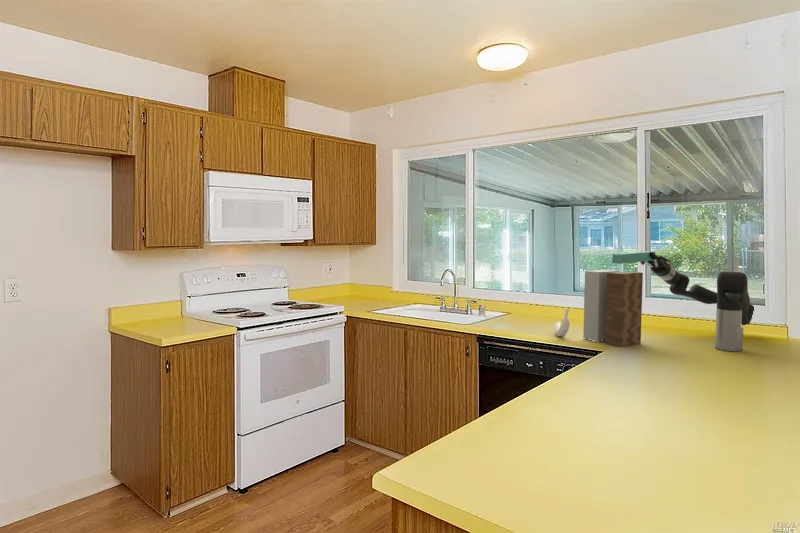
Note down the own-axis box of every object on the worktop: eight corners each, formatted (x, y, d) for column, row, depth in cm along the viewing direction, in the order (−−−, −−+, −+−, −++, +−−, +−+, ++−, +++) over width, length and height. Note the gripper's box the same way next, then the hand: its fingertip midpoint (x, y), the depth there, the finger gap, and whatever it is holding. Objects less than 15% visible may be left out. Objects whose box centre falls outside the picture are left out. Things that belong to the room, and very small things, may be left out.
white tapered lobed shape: (560, 332, 262) (560, 303, 261) (571, 340, 243) (572, 309, 242) (550, 332, 262) (551, 303, 261) (561, 340, 243) (562, 309, 242)
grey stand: (603, 335, 253) (604, 269, 251) (617, 338, 246) (619, 270, 244) (583, 339, 246) (584, 271, 244) (597, 342, 239) (599, 272, 237)
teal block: (646, 259, 244) (647, 251, 244) (655, 260, 241) (655, 251, 241) (612, 263, 230) (612, 254, 230) (620, 263, 227) (620, 254, 227)
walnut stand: (624, 340, 243) (626, 271, 241) (640, 343, 236) (642, 272, 234) (605, 343, 236) (606, 272, 234) (620, 347, 229) (622, 274, 227)
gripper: (675, 278, 242) (657, 261, 233) (646, 275, 254) (628, 260, 245) (680, 263, 244) (662, 246, 235) (651, 261, 255) (633, 245, 247)
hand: (645, 253), depth 240 cm, fingers closed on teal block, 4 cm apart
